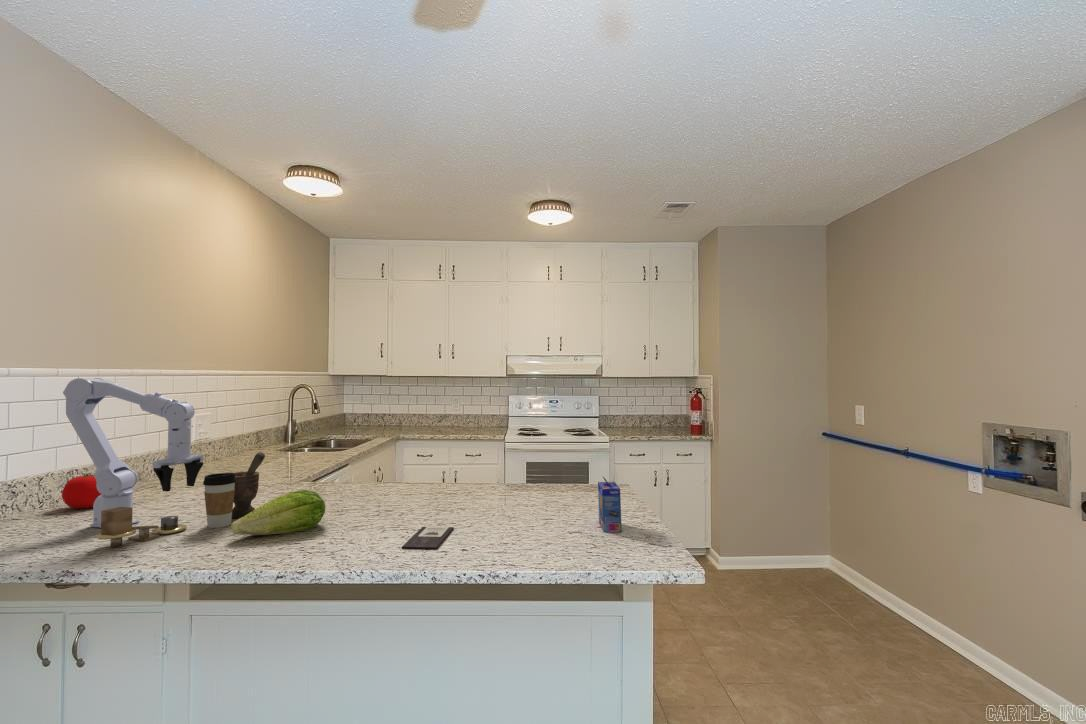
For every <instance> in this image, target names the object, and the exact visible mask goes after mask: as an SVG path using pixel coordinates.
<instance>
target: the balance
mask: <svg viewBox="0 0 1086 724" xmlns="http://www.w3.org/2000/svg"><path fill="white" fill-rule="evenodd" d="M186 529H187V525H186V524H179V516H178V515H168V516H163V517H161V518H160V526H159V525H157V524H156V525H154V524H153V525H138V526H132V531H130V532H127V533H123V534H119V535H116V536H110V535H101V532H99V533H97V534H96V535H95V537H96V539H98V540H109V541H110V543H109V546H110V549H115V548H121V547H122V546H123V538H125V537H128V536H129V537H128V539H127V540H130V541H137V542H143V543H145V542H149V541H152V540H155V539H158V538H161V537H160V535H168V534H174V533H180V532H182V531H185V530H186ZM137 530H138V534H136V533H137ZM150 530H151V533H150ZM135 534H136V535H135ZM131 535H133V536H131Z"/></svg>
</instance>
